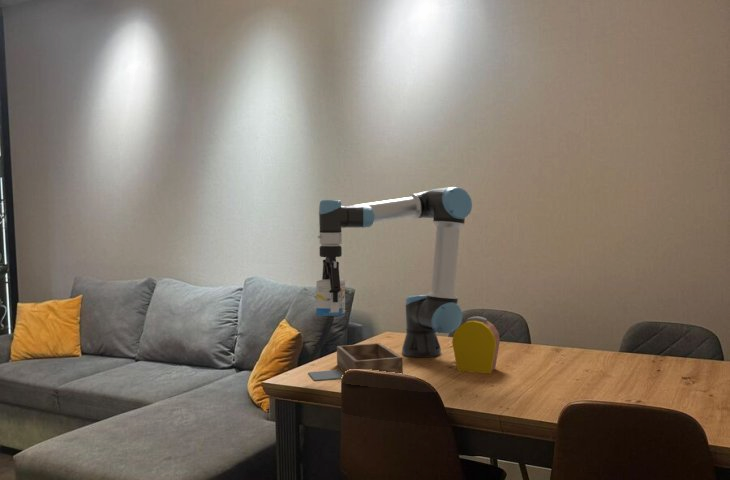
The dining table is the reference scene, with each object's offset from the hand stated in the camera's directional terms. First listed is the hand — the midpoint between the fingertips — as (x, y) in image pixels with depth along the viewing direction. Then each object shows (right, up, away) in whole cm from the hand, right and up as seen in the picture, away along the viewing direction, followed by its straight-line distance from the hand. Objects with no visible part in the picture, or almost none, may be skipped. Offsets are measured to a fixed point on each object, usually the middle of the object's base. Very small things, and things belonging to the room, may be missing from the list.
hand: (331, 309), depth 220 cm
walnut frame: (+13, -22, +5) cm, 26 cm away
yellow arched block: (+51, -22, +5) cm, 55 cm away
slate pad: (-1, -23, 0) cm, 23 cm away
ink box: (0, -2, 0) cm, 2 cm away
